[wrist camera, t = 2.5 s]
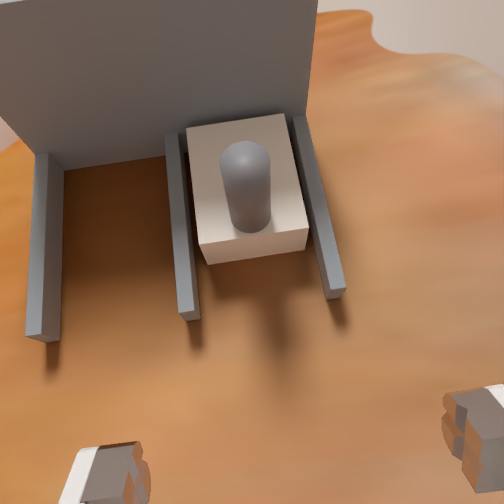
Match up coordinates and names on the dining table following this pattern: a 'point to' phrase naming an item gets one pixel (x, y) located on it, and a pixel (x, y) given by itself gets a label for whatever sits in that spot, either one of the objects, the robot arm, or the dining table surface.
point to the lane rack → (150, 109)
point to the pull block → (246, 189)
